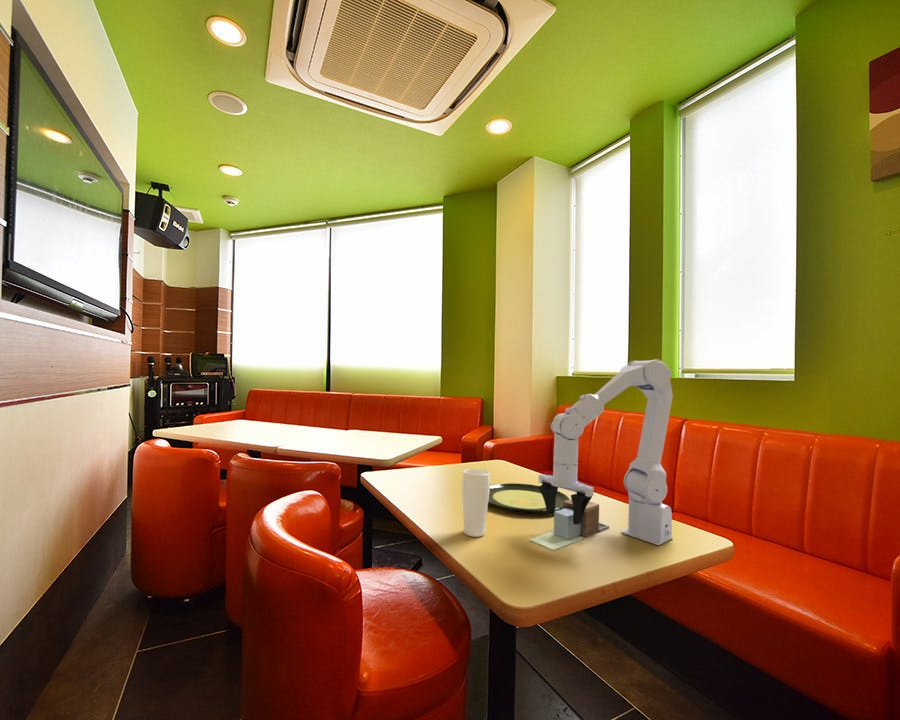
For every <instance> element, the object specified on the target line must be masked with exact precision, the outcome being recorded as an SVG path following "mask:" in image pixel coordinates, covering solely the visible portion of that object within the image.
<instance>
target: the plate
mask: <svg viewBox="0 0 900 720" xmlns="http://www.w3.org/2000/svg"><path fill="white" fill-rule="evenodd" d="M539 486H540V485H535V484H530V483H529V484H528V483H517V482H516V483H515V482H514V483H513V482H511V483H495V484H490V491H489V500H488V504H490V505H492V506H495V507H498V508H500V509H503V510H509V511H514V512H521V513H522V512H523V513H547V510H546V505H545V502H544V499H543V496H542V494H541V492H540V490H539ZM518 498H519V499H527V500H529V501H531V502H530V503H527V504H522V503H518V502H515V501H514V500H515V499H518ZM567 500H571V498H569V496H568V495H566V494H565V493H563V492H561V491H559V490H557V494H556V501H555V511H558V510H561V509H563V502H564V501H567Z"/></svg>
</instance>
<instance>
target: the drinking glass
mask: <svg viewBox="0 0 900 720" xmlns="http://www.w3.org/2000/svg"><path fill="white" fill-rule="evenodd" d="M461 484H462V485H461V486H462V487H461V491H462V510H463V511H462V512H463V513H462V515H463V533H464V534H465V535H466V536H468V537H472V538H478V537H479V538H480V537H483V536H484V535H485V534H486V529H487V528H486V526H487V525H486V524H487V515H488V507H489V503H488V500H489V491H490V485H491V472H490V471H488V470H486V469H482V468H467V469H464V470H462V482H461Z"/></svg>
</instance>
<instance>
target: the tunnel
mask: <svg viewBox="0 0 900 720" xmlns="http://www.w3.org/2000/svg"><path fill="white" fill-rule="evenodd" d="M568 507H572V508H573V503H572V499H571V498H570V500H567V501H564V502H563V508H562V509H565V508H568ZM599 523H600V504H599V503H596V502H593V501H589V503H588V504H587V506H586V508H585V511H584V514H583V534H581V535H582V536H581V537H583V538H588V537H590V536H593V535H595V534H598V533H600V532H599Z"/></svg>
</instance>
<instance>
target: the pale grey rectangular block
mask: <svg viewBox="0 0 900 720" xmlns="http://www.w3.org/2000/svg"><path fill="white" fill-rule="evenodd" d="M553 515H554V516H553V517H554V518H553V520H554V521H553V531H554V535H557V536H560V537H562V538H565V539H567V540H568V539H570V538H573V537H576V536H580V535H583V517H582V520H581V523H580V524H577V525H575V524H574V523H573V508H572V507H568V508H565V509H563V508H561V509H559V510H555V512H554V514H553Z"/></svg>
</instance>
